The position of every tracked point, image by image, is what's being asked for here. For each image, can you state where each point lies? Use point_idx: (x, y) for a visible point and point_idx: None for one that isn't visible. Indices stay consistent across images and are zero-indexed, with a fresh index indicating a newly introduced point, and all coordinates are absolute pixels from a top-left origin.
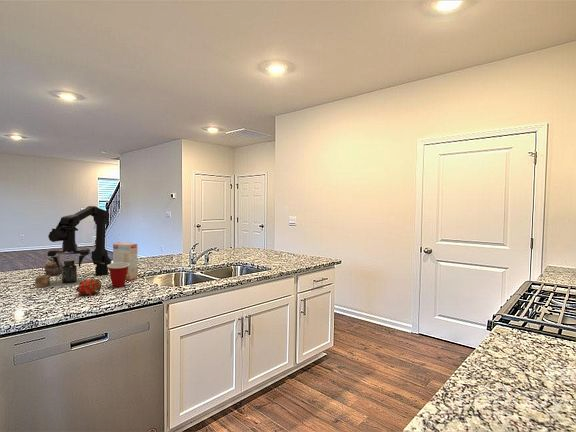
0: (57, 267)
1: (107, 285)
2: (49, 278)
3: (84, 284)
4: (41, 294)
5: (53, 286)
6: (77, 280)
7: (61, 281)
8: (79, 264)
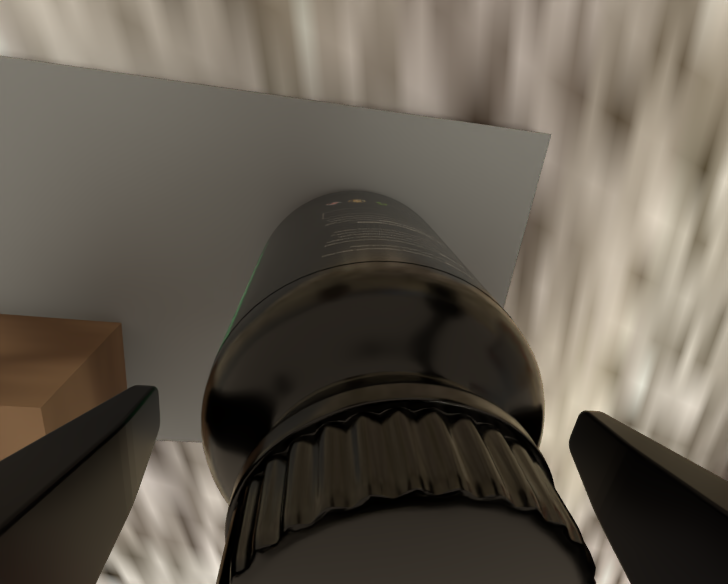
0: None
1: (693, 455)
2: (75, 390)
3: None
4: (157, 566)
5: (200, 435)
6: (450, 209)
7: (233, 183)
8: (629, 545)
